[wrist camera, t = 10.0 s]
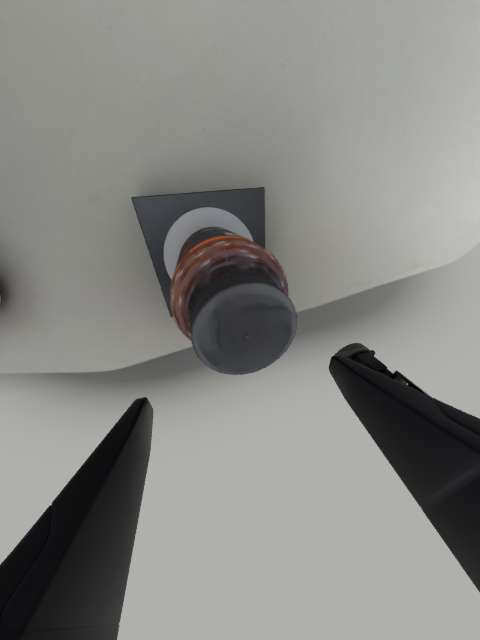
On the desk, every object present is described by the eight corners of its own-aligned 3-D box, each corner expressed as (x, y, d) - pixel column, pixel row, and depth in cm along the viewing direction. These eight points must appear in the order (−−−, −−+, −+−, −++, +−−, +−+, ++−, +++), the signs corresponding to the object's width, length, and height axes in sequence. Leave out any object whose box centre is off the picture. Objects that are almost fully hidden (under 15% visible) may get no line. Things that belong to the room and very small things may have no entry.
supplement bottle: (197, 303, 17) (202, 411, 8) (165, 241, 14) (108, 297, 5) (254, 281, 18) (325, 361, 8) (235, 214, 14) (317, 216, 5)
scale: (260, 295, 21) (266, 302, 19) (172, 310, 19) (170, 319, 18) (258, 189, 15) (266, 186, 14) (136, 198, 14) (129, 196, 12)
